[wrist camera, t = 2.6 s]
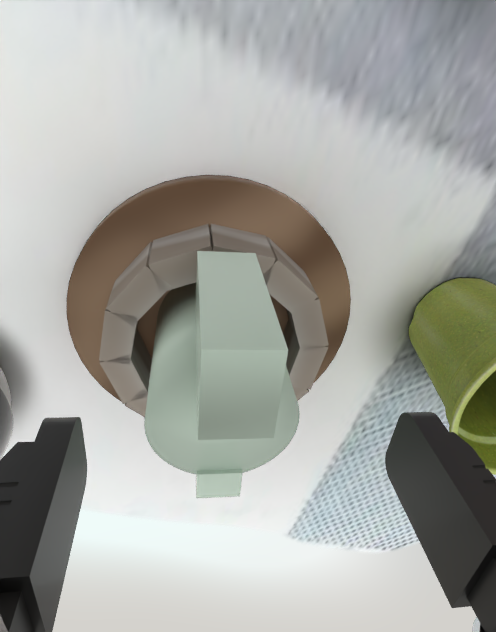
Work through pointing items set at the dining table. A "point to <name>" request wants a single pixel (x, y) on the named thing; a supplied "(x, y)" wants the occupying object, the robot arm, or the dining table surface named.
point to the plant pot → (462, 358)
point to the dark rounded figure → (5, 414)
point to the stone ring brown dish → (181, 269)
